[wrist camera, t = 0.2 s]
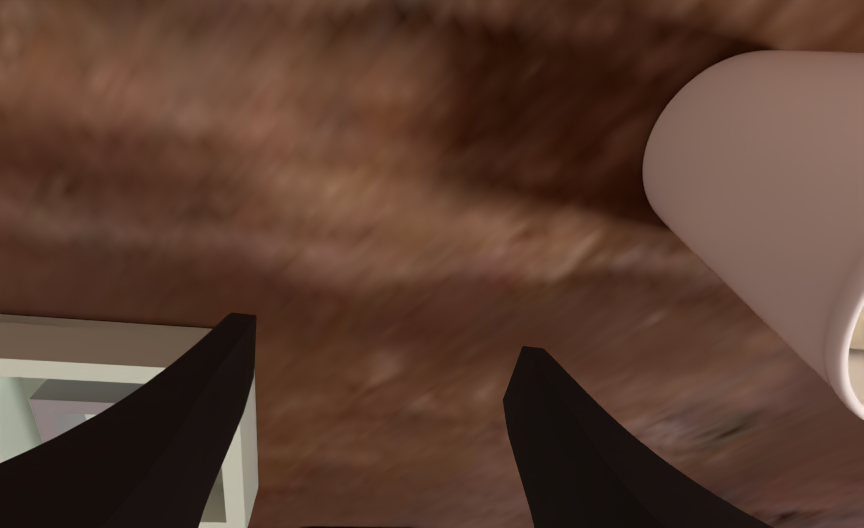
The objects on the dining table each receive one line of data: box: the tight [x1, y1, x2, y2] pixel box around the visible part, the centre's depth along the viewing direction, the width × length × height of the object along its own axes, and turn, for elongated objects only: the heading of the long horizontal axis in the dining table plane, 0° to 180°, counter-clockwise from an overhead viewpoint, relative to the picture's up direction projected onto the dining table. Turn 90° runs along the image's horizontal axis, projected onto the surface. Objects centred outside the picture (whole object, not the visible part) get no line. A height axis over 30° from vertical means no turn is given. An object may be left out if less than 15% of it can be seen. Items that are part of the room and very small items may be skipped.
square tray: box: [0, 314, 258, 528], centre depth 25 cm, size 12×12×3 cm
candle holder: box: [642, 50, 864, 420], centre depth 16 cm, size 10×10×12 cm
